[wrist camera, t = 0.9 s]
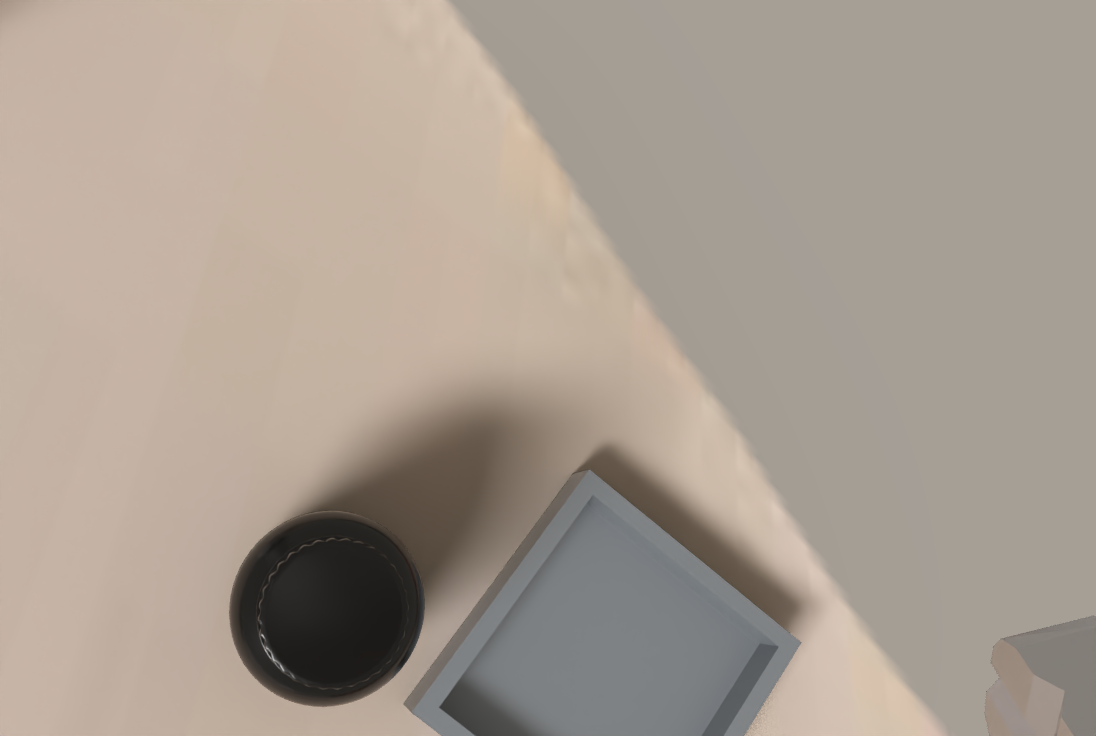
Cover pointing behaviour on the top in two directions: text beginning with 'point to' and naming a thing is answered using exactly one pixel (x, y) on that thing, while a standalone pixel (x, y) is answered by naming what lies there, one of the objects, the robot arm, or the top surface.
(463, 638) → the tray
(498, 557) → the top surface
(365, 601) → the supplement bottle
